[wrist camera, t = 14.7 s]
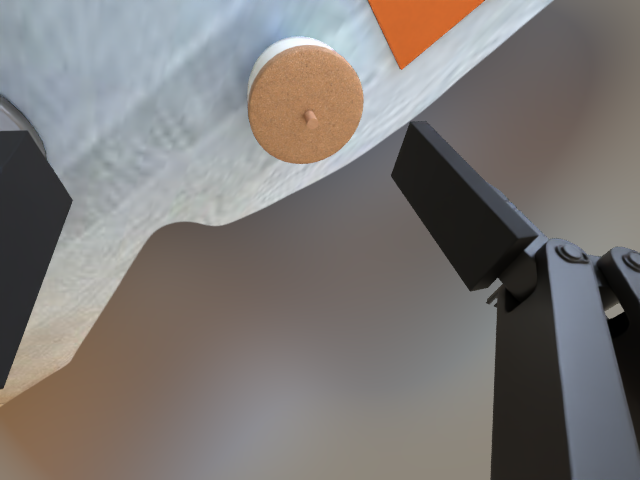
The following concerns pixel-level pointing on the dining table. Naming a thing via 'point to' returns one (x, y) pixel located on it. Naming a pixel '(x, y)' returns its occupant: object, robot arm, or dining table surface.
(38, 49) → the dining table surface
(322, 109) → the trinket box
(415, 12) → the mat
